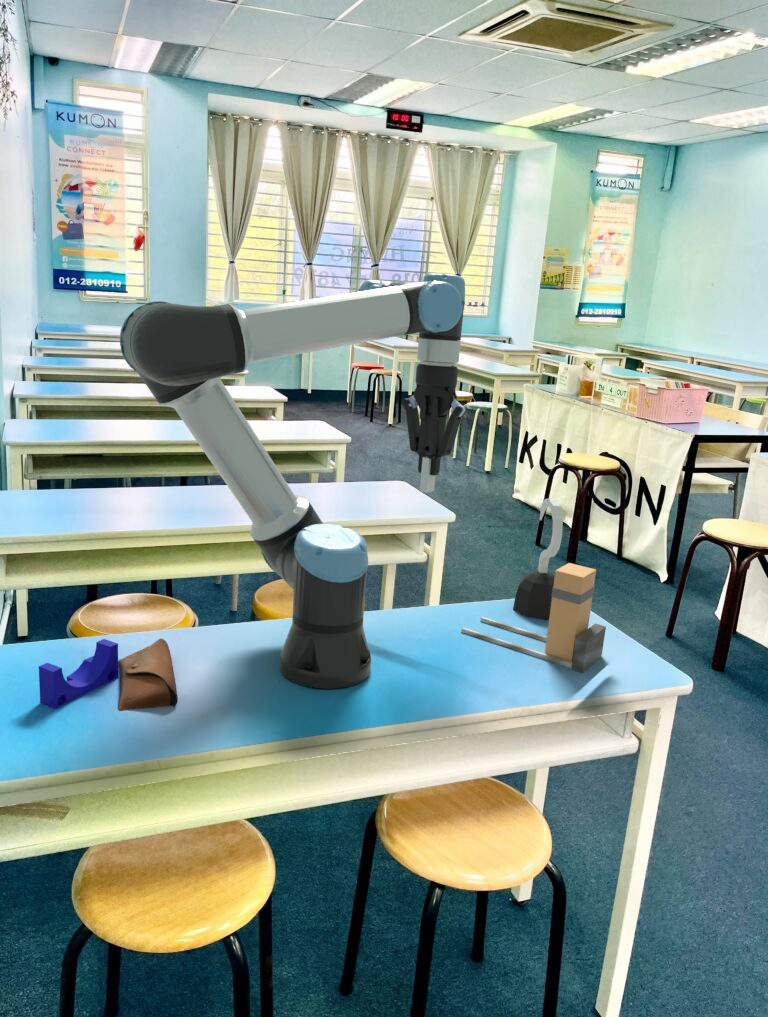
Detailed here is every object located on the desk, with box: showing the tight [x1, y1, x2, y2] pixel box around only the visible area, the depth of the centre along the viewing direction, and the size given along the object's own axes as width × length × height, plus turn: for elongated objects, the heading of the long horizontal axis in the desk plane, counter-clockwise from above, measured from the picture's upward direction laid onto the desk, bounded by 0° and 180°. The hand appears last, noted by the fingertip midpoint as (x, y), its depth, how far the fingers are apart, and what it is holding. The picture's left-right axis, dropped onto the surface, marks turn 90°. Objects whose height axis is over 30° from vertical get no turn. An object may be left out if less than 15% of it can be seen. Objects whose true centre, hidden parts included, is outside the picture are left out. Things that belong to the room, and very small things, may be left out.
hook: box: [512, 498, 564, 621], centre depth 156 cm, size 11×11×25 cm
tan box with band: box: [544, 562, 597, 662], centre depth 136 cm, size 5×6×16 cm
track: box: [460, 616, 607, 674], centre depth 141 cm, size 24×9×7 cm, turn 54°
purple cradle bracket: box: [38, 638, 119, 710], centre depth 117 cm, size 12×4×6 cm, turn 152°
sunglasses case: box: [118, 638, 179, 712], centre depth 121 cm, size 18×7×7 cm
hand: (426, 491), depth 145 cm, fingers closed
